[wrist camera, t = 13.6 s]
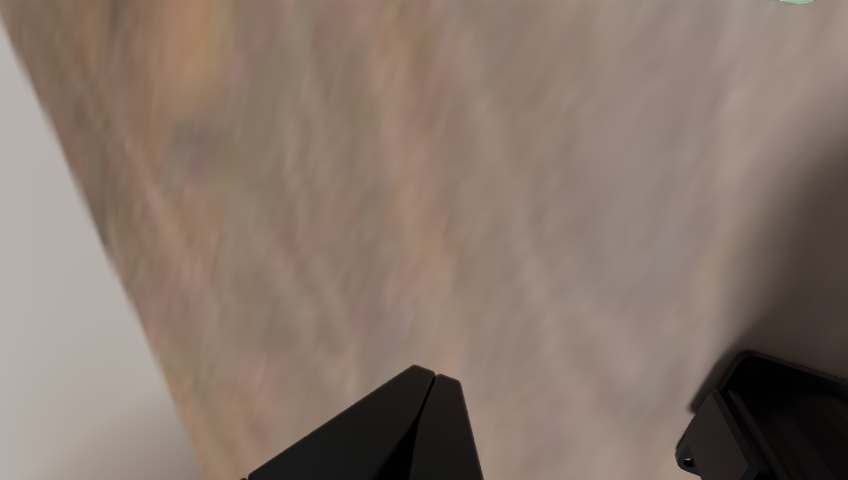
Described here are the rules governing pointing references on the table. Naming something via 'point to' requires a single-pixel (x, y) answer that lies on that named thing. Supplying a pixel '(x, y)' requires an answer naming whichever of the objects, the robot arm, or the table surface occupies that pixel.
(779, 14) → the table surface
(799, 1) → the board
